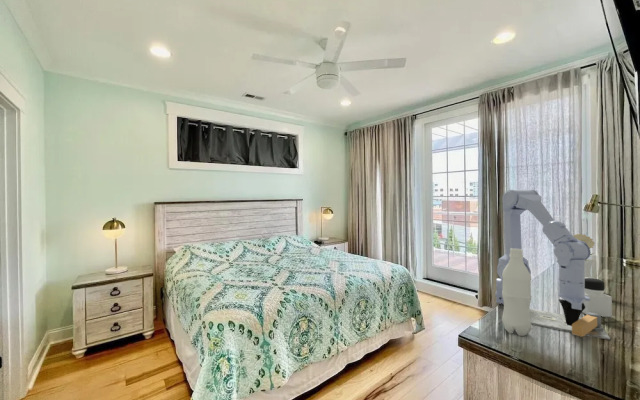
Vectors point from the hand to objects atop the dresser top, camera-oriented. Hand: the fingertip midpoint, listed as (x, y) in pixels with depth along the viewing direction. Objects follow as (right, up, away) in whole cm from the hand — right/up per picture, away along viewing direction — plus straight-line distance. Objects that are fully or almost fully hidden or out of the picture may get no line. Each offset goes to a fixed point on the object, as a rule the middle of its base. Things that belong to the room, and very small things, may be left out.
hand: (571, 325), depth 83 cm
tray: (+3, -2, +6) cm, 6 cm away
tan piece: (+3, 0, -2) cm, 4 cm away
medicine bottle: (+20, -2, +14) cm, 25 cm away
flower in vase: (+42, -2, +38) cm, 57 cm away
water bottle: (-17, -2, -1) cm, 17 cm away
